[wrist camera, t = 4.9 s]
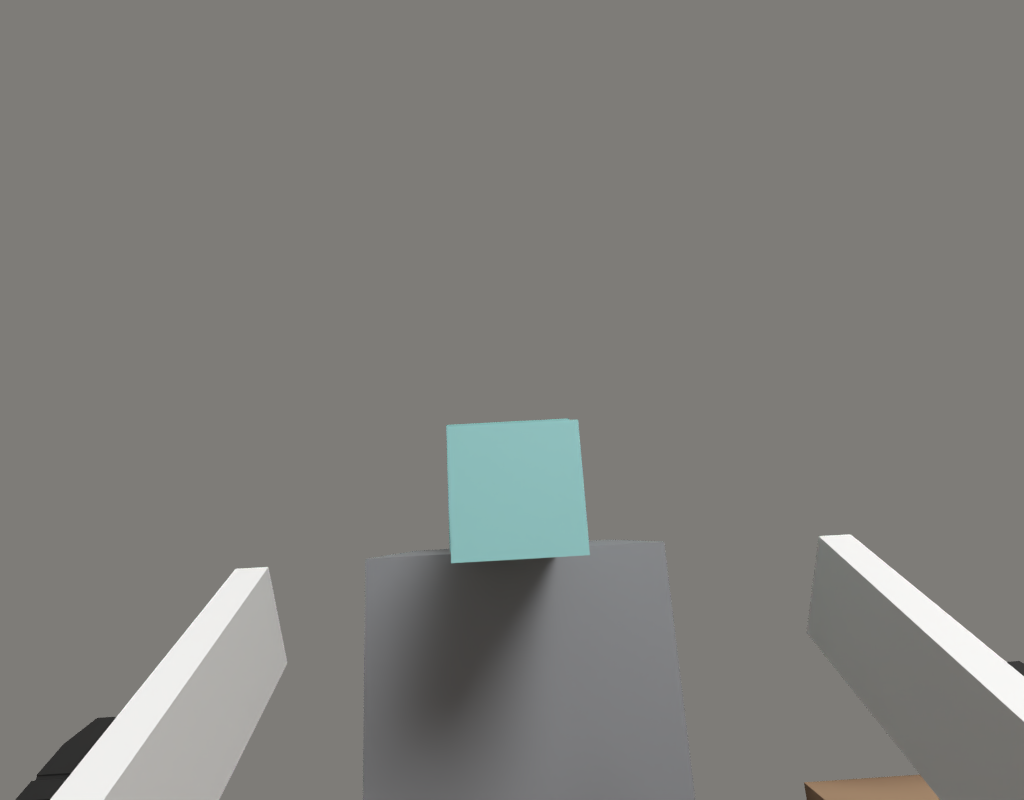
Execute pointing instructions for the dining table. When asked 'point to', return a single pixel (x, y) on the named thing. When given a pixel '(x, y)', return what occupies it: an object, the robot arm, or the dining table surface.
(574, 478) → the teal bar
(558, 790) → the stand
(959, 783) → the robot arm
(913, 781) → the walnut block
